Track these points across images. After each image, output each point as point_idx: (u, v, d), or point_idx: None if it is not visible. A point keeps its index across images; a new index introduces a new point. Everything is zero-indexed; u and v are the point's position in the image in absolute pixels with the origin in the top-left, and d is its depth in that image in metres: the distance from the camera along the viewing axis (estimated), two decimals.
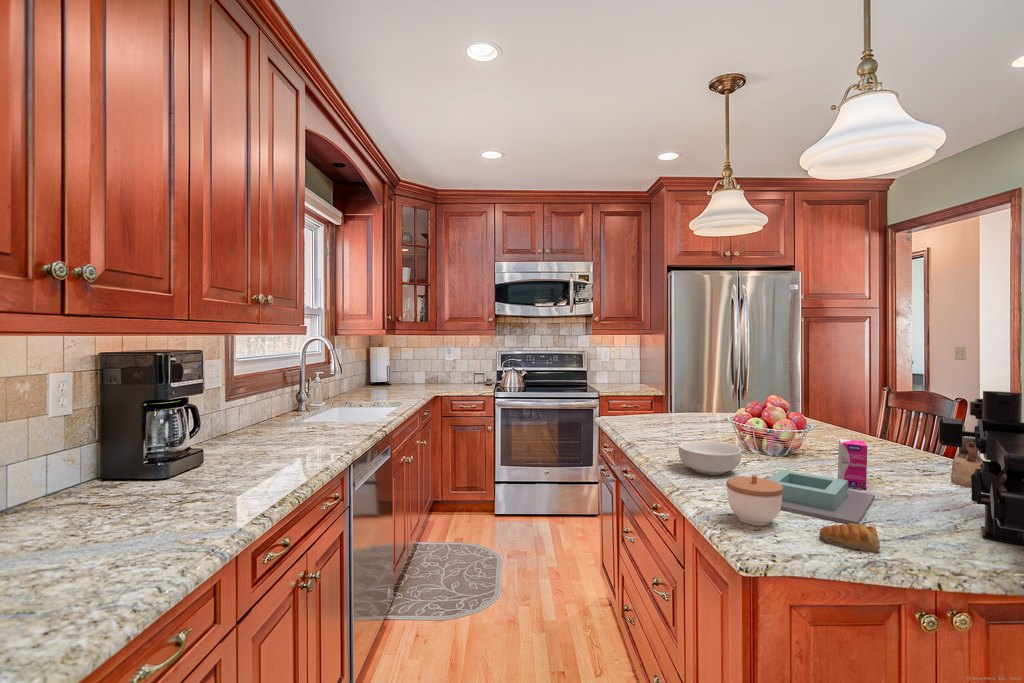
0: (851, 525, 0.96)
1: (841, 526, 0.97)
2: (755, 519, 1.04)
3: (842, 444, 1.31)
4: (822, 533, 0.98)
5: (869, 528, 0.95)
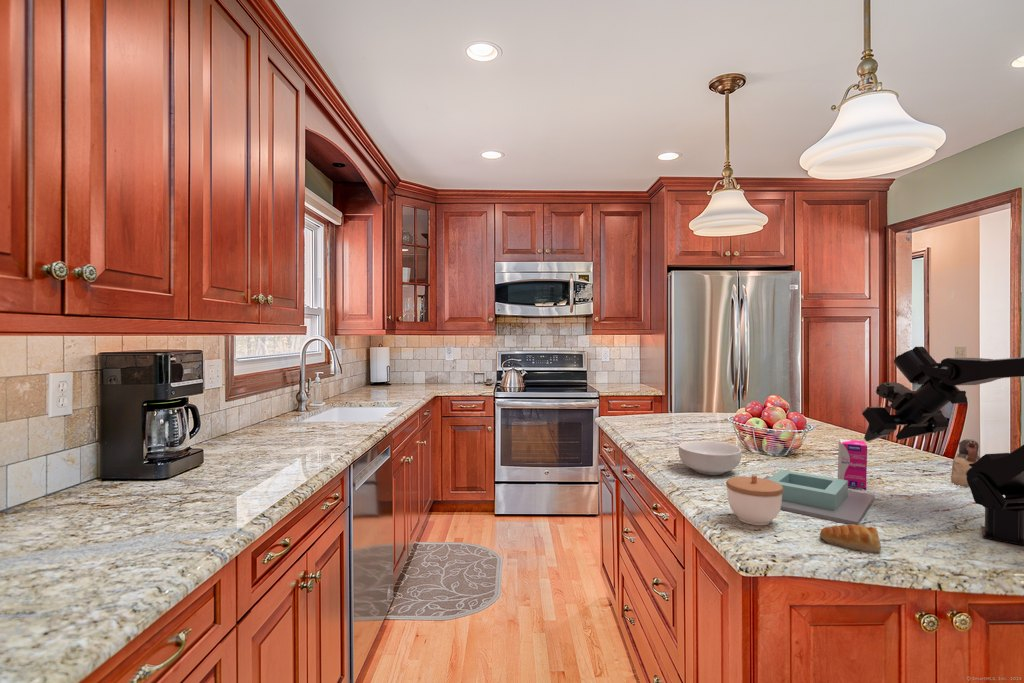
0: (852, 526, 0.96)
1: (842, 527, 0.97)
2: (755, 519, 1.04)
3: (842, 444, 1.31)
4: (822, 534, 0.97)
5: (870, 529, 0.95)
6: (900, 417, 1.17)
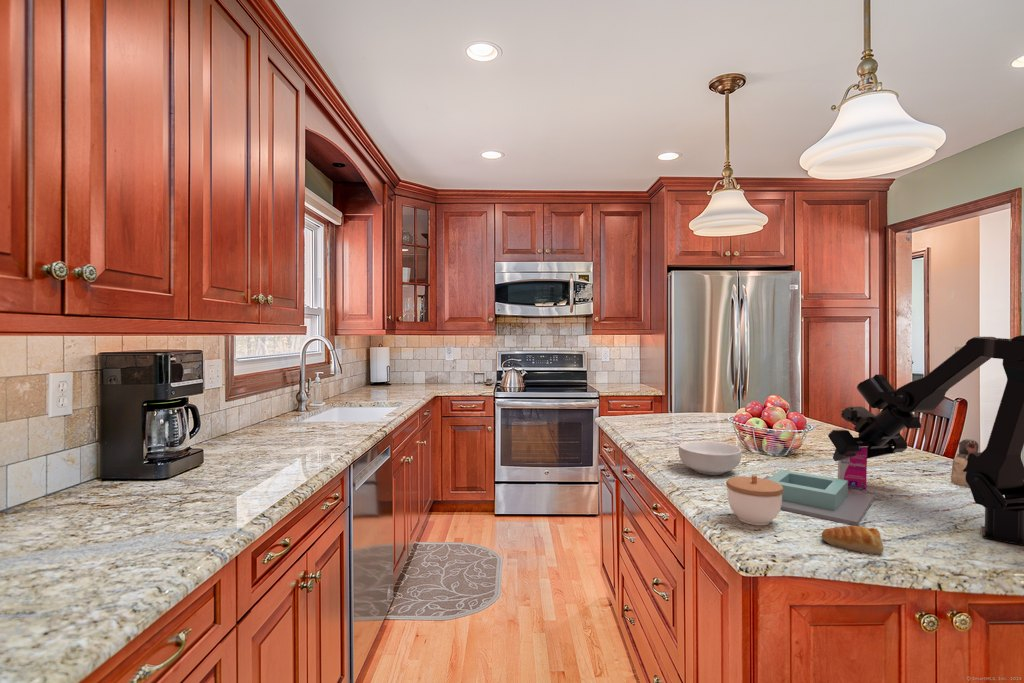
0: (853, 527, 0.95)
1: (843, 528, 0.96)
2: (755, 519, 1.04)
3: None
4: (824, 536, 0.96)
5: (871, 530, 0.94)
6: (862, 439, 1.26)
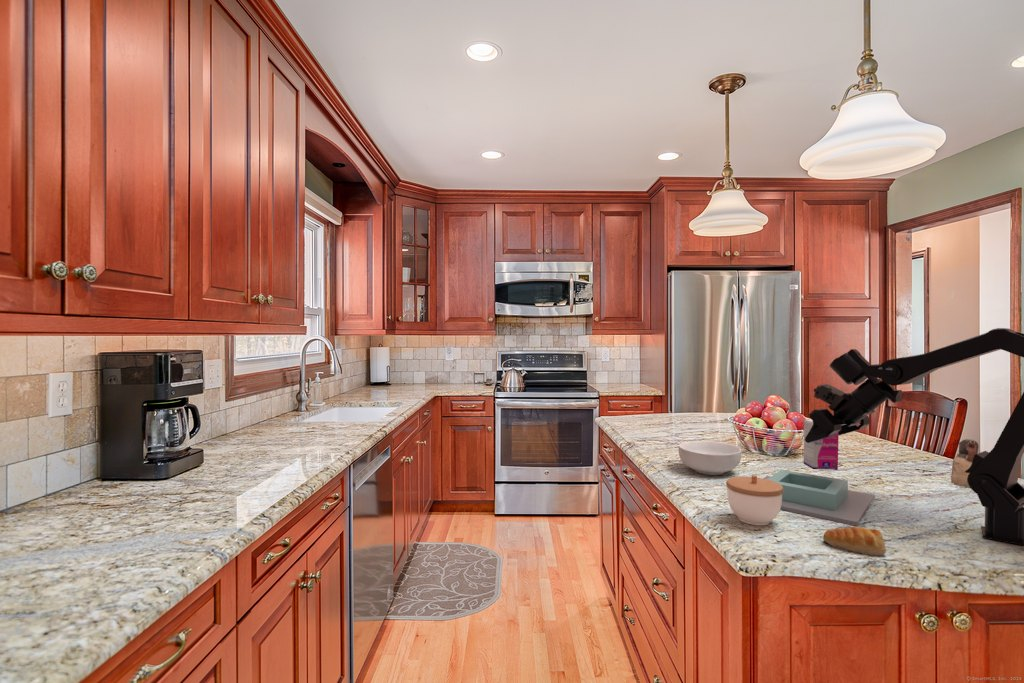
0: (855, 528, 0.95)
1: (845, 530, 0.95)
2: (755, 519, 1.04)
3: None
4: (826, 537, 0.95)
5: (873, 531, 0.94)
6: (840, 417, 1.21)
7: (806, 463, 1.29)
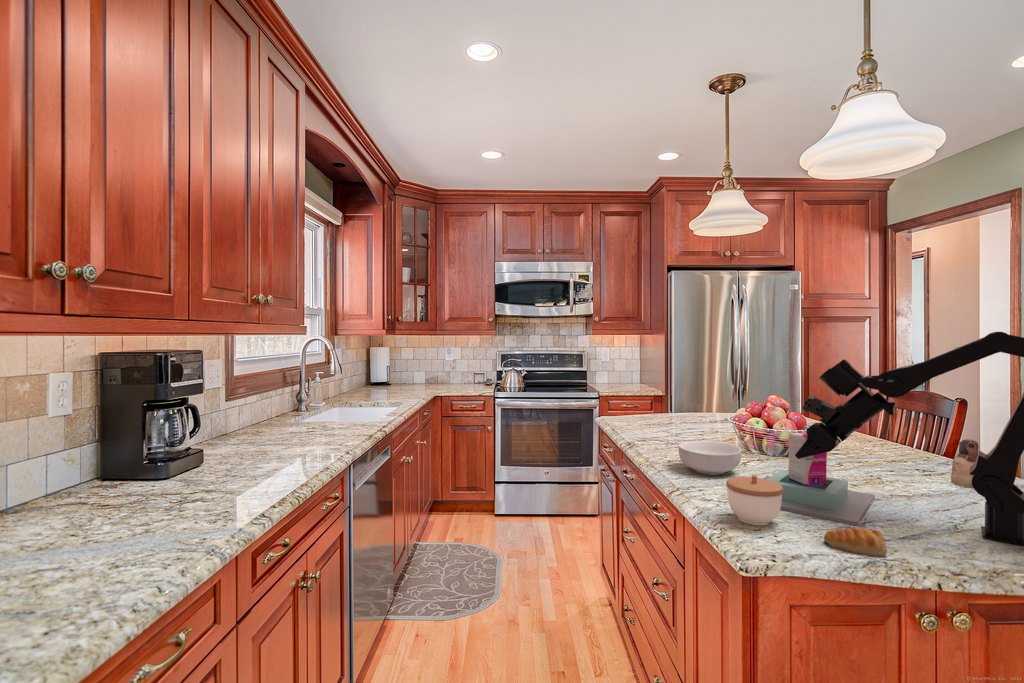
0: (856, 529, 0.94)
1: (846, 531, 0.95)
2: (755, 519, 1.04)
3: (806, 439, 1.18)
4: (827, 538, 0.95)
5: (874, 532, 0.93)
6: (833, 431, 1.16)
7: (793, 479, 1.22)
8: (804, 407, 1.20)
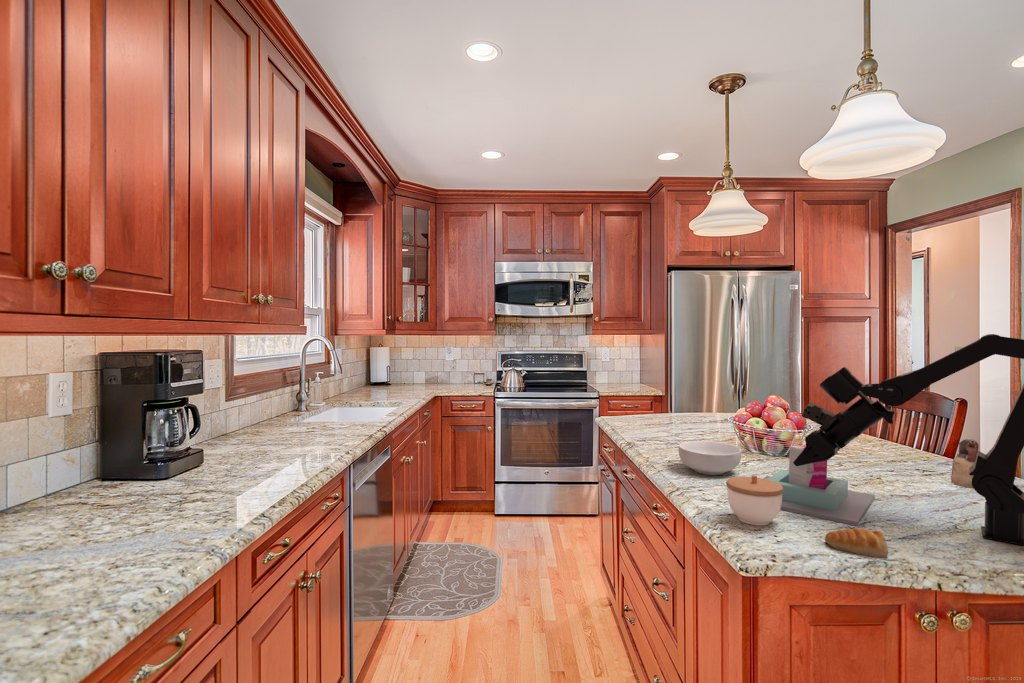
0: (857, 530, 0.94)
1: (847, 531, 0.94)
2: (755, 519, 1.04)
3: None
4: (829, 539, 0.95)
5: (876, 533, 0.93)
6: (832, 439, 1.16)
7: None
8: (803, 414, 1.20)
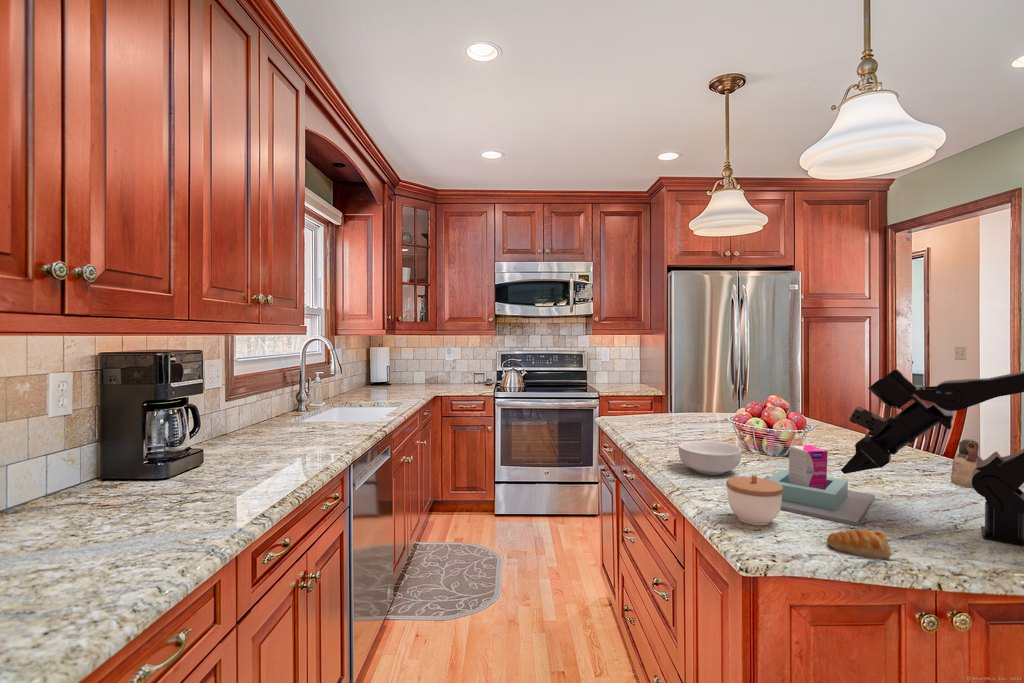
0: (860, 531, 0.93)
1: (850, 533, 0.94)
2: (755, 519, 1.04)
3: (807, 452, 1.18)
4: (831, 541, 0.94)
5: (878, 534, 0.92)
6: (884, 445, 1.09)
7: None
8: (851, 419, 1.14)
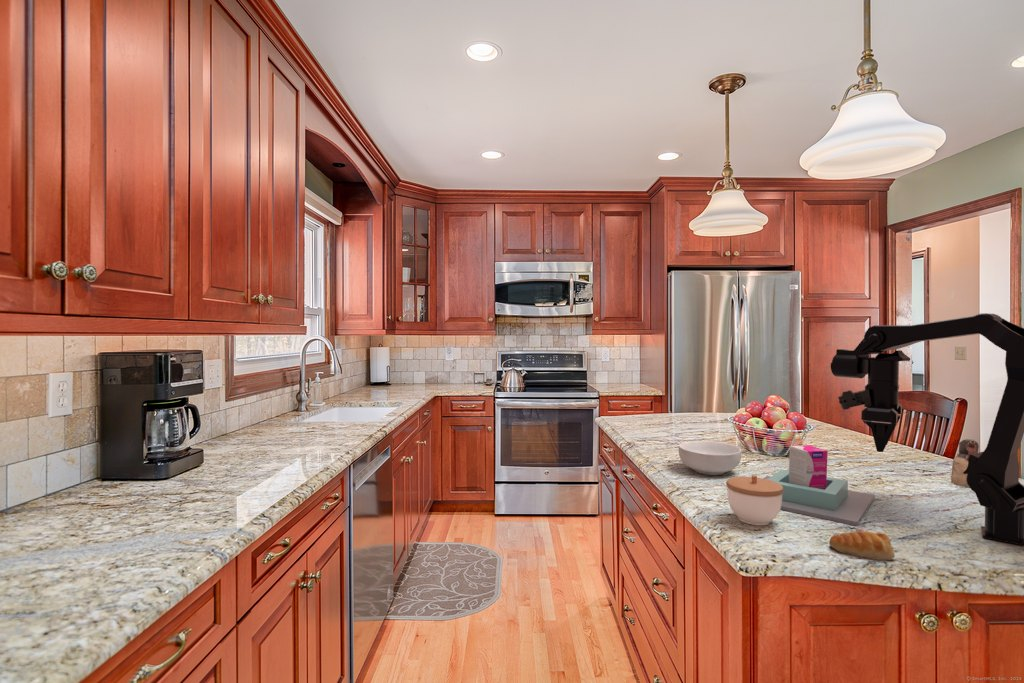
0: (862, 533, 0.93)
1: (852, 535, 0.93)
2: (755, 519, 1.04)
3: (807, 452, 1.18)
4: (834, 543, 0.93)
5: (880, 535, 0.92)
6: (883, 407, 1.15)
7: None
8: (843, 407, 1.21)
